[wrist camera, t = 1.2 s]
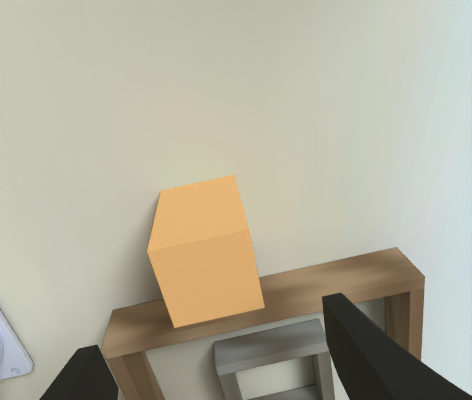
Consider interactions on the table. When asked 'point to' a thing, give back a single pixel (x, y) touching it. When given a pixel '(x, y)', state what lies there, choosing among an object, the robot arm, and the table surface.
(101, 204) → the table surface
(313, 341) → the walled box
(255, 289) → the block
